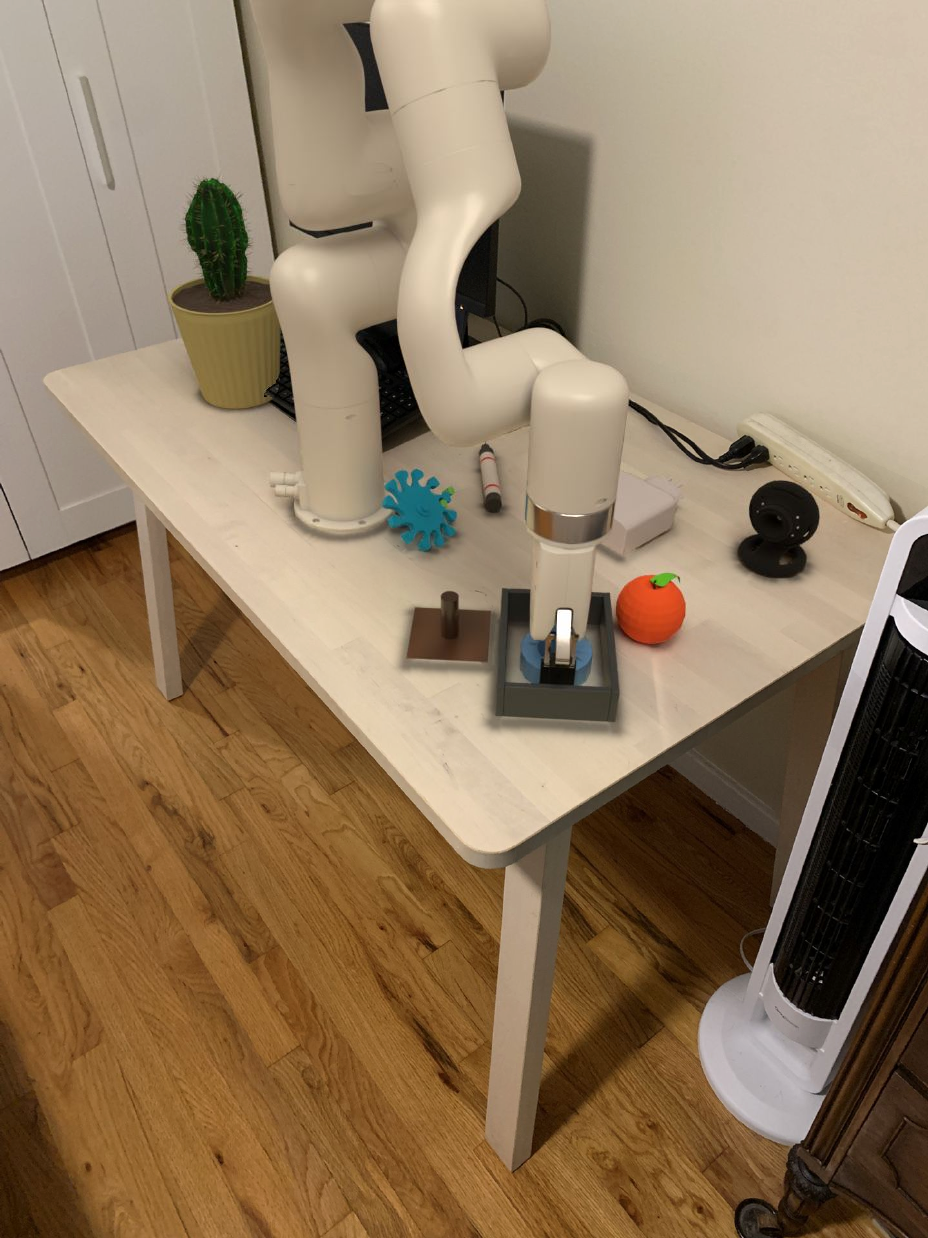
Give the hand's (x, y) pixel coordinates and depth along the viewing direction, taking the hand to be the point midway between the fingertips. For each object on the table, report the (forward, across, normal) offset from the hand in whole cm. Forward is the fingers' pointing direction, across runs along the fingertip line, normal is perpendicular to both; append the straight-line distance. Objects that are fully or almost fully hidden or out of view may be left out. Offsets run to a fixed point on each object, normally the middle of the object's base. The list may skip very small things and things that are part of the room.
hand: (555, 664), depth 88 cm
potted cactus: (+1, -58, -46) cm, 74 cm away
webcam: (+1, -21, +25) cm, 32 cm away
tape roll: (+1, 0, 0) cm, 1 cm away
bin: (+1, 0, 0) cm, 1 cm away
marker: (+1, -36, -8) cm, 37 cm away
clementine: (+1, -7, +10) cm, 12 cm away
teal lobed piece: (+1, -23, -15) cm, 27 cm away
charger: (+1, -28, +10) cm, 29 cm away
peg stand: (+1, -4, -11) cm, 11 cm away
